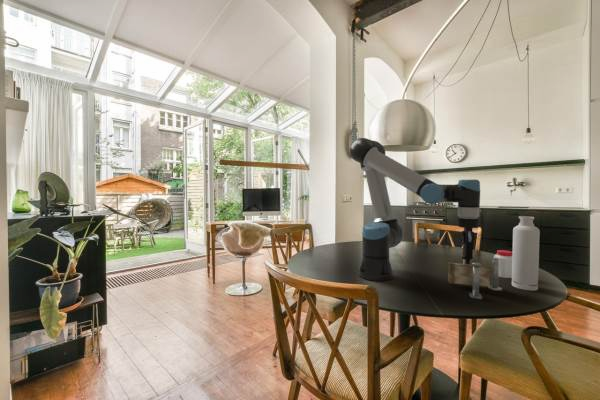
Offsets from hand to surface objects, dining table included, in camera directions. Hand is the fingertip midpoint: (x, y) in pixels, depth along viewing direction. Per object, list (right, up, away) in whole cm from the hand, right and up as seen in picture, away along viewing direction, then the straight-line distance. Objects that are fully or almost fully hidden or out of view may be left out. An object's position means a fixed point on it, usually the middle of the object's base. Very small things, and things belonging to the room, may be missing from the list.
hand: (467, 274), depth 111 cm
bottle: (+21, -4, -3) cm, 21 cm away
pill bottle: (+23, -4, +11) cm, 26 cm away
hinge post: (+7, -4, -6) cm, 10 cm away
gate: (-1, -3, -3) cm, 4 cm away
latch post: (-5, -4, -13) cm, 15 cm away
